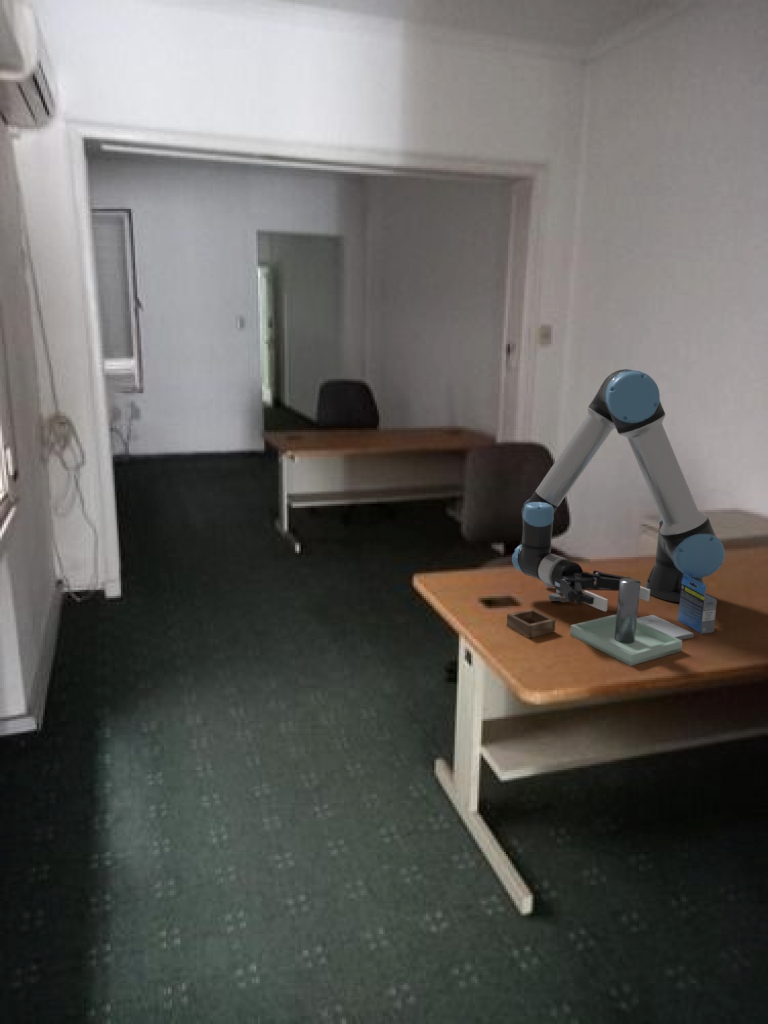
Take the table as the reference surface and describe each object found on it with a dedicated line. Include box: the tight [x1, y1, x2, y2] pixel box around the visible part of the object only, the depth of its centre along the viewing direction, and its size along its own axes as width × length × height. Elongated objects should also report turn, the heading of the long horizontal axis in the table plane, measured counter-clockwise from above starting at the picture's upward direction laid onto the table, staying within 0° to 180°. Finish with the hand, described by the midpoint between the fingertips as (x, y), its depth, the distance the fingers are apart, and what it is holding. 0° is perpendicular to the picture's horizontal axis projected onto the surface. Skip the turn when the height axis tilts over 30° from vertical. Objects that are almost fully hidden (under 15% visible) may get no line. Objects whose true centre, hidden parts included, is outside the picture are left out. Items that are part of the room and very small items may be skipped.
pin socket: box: [506, 608, 556, 639], centre depth 166 cm, size 8×8×3 cm
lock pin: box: [614, 577, 642, 644], centre depth 158 cm, size 4×4×14 cm
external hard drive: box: [637, 614, 694, 641], centre depth 167 cm, size 2×8×12 cm
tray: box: [569, 613, 683, 667], centre depth 159 cm, size 16×18×2 cm
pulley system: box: [544, 582, 608, 603], centre depth 194 cm, size 27×5×15 cm
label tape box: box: [677, 574, 718, 634], centre depth 168 cm, size 9×4×12 cm, turn 14°
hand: (628, 600), depth 157 cm, fingers open, 13 cm apart
